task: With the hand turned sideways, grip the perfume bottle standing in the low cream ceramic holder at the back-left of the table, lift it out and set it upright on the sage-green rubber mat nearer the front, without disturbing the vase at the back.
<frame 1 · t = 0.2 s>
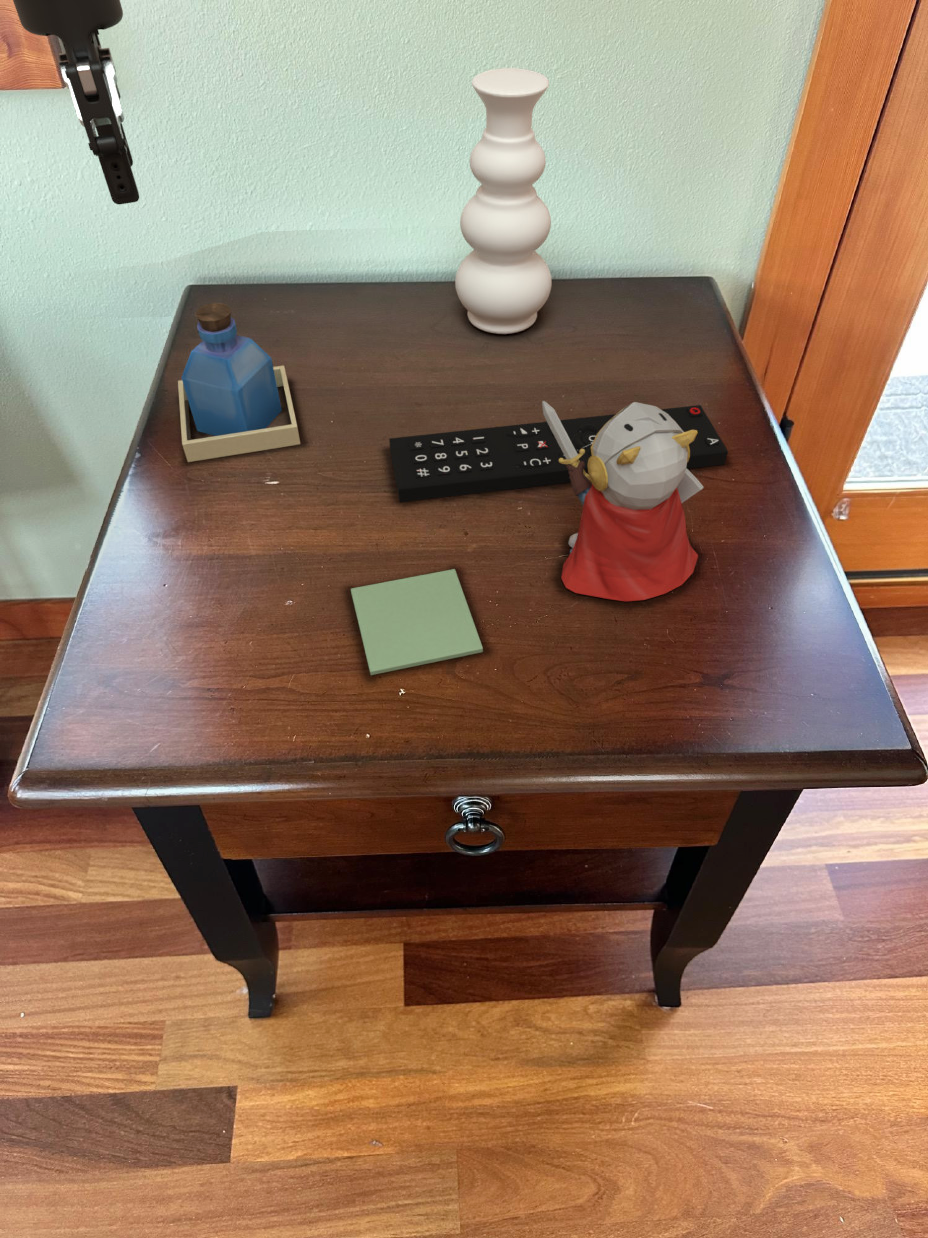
hand: (124, 183, 73), 21 cm above the table, tool pointing down, fingers open, 8 cm apart
perfume bottle: (240, 422, 86), resting in holder
holder: (240, 420, 86), on the table
remote control: (557, 459, 82), on the table
mat: (415, 621, 68), on the table
figurine: (619, 555, 73), on the table
vase: (501, 321, 98), on the table
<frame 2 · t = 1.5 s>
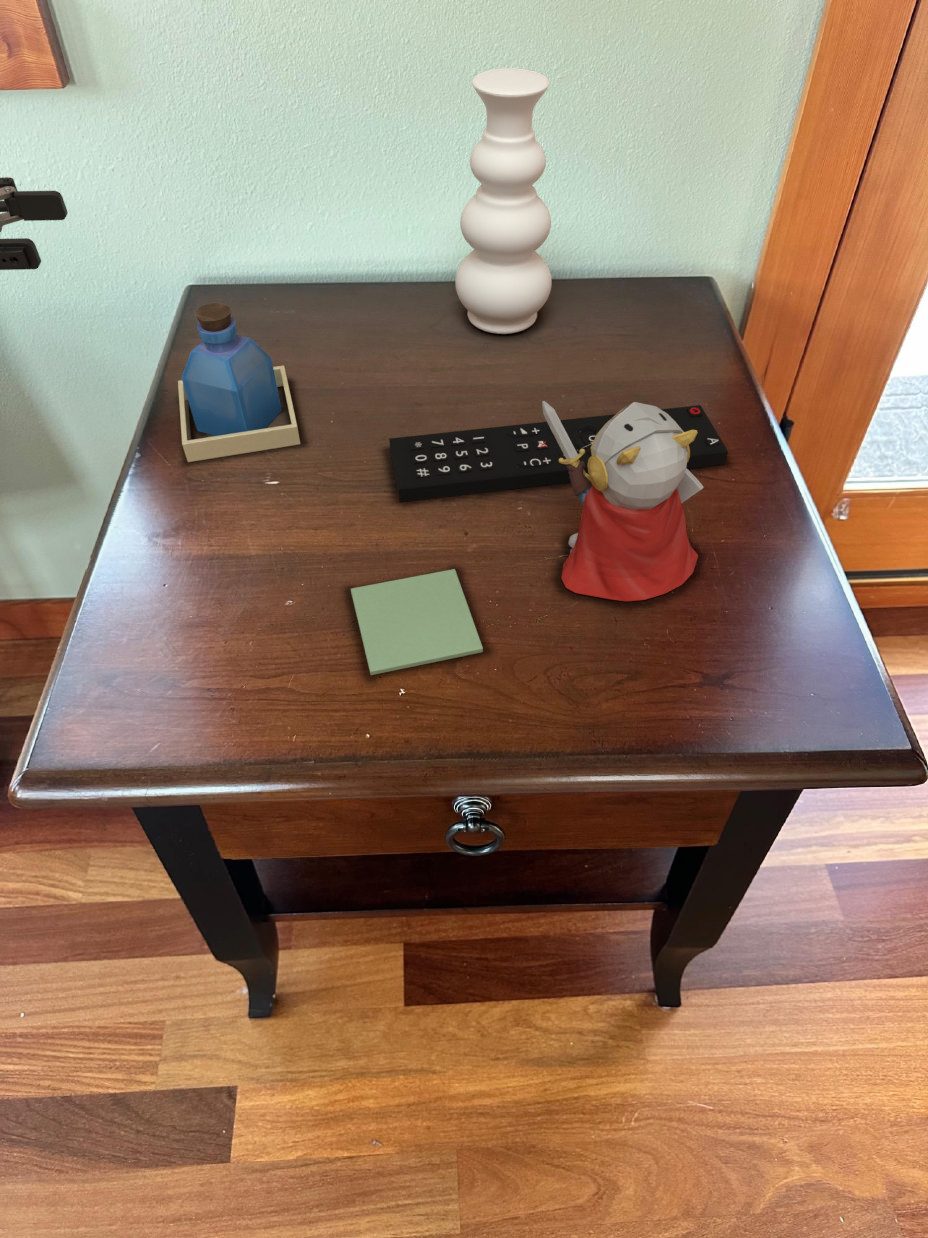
hand: (50, 228, 69), 20 cm above the table, tool horizontal, fingers open, 8 cm apart
nothing on the table moved.
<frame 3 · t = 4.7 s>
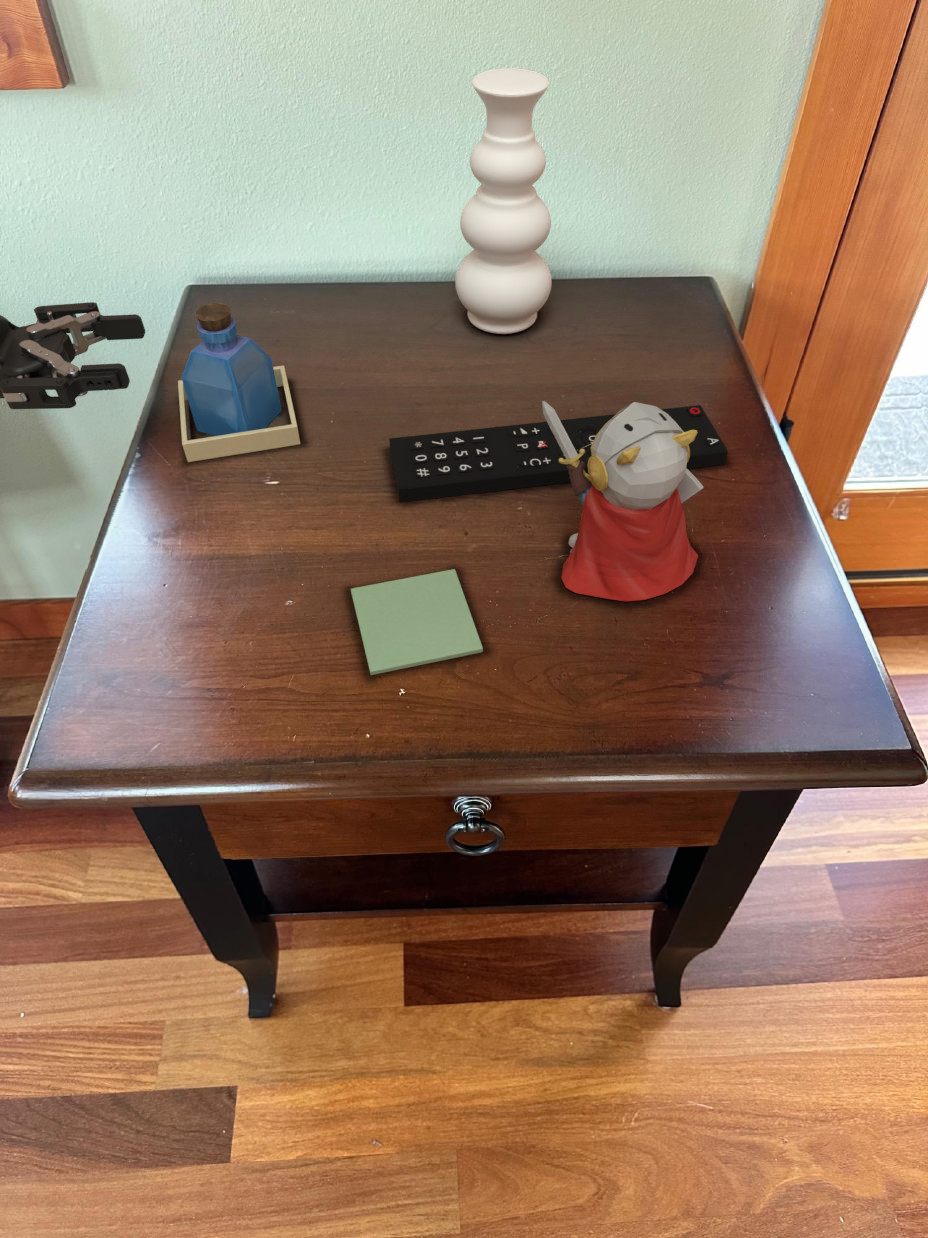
hand: (135, 350, 79), 8 cm above the table, tool horizontal, fingers open, 8 cm apart
nothing on the table moved.
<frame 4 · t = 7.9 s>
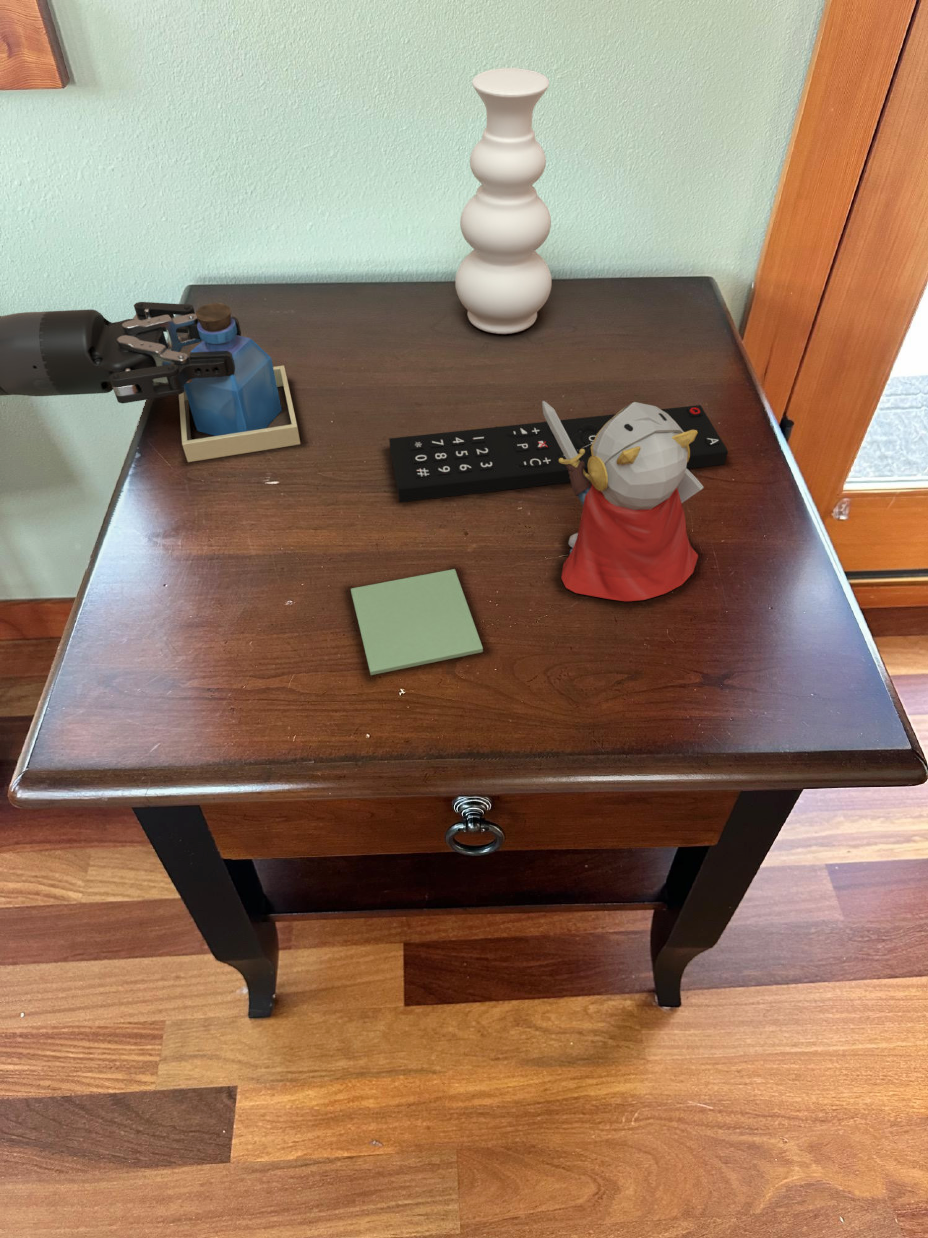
hand: (235, 345, 79), 9 cm above the table, tool horizontal, fingers closed on perfume bottle, 5 cm apart
perfume bottle: (240, 422, 86), resting in holder, touching gripper
everything else where it was.
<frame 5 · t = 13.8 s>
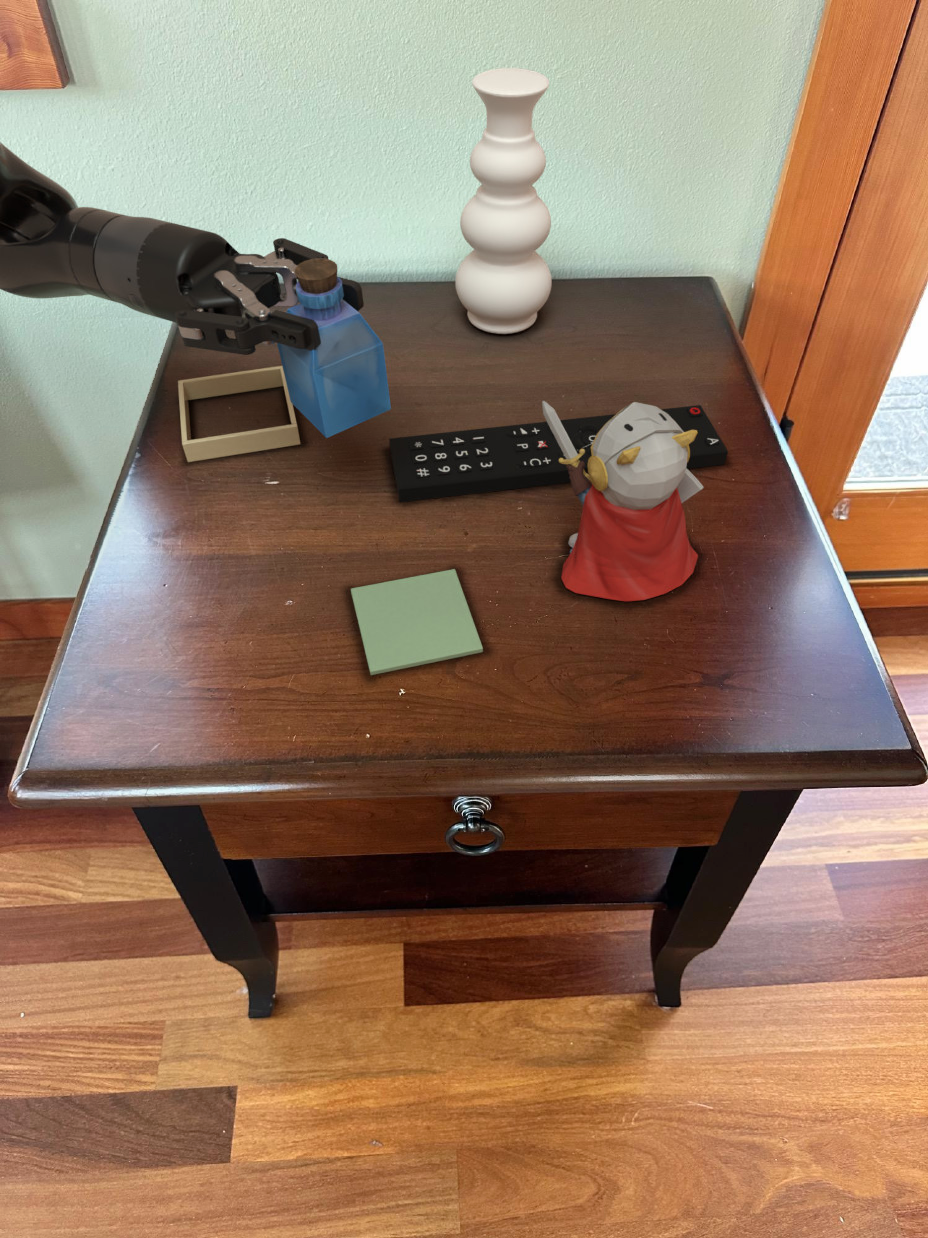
hand: (338, 316, 63), 18 cm above the table, tool horizontal, fingers closed on perfume bottle, 5 cm apart
perfume bottle: (340, 407, 71), point 10 cm above the table, touching gripper
everything else where it was.
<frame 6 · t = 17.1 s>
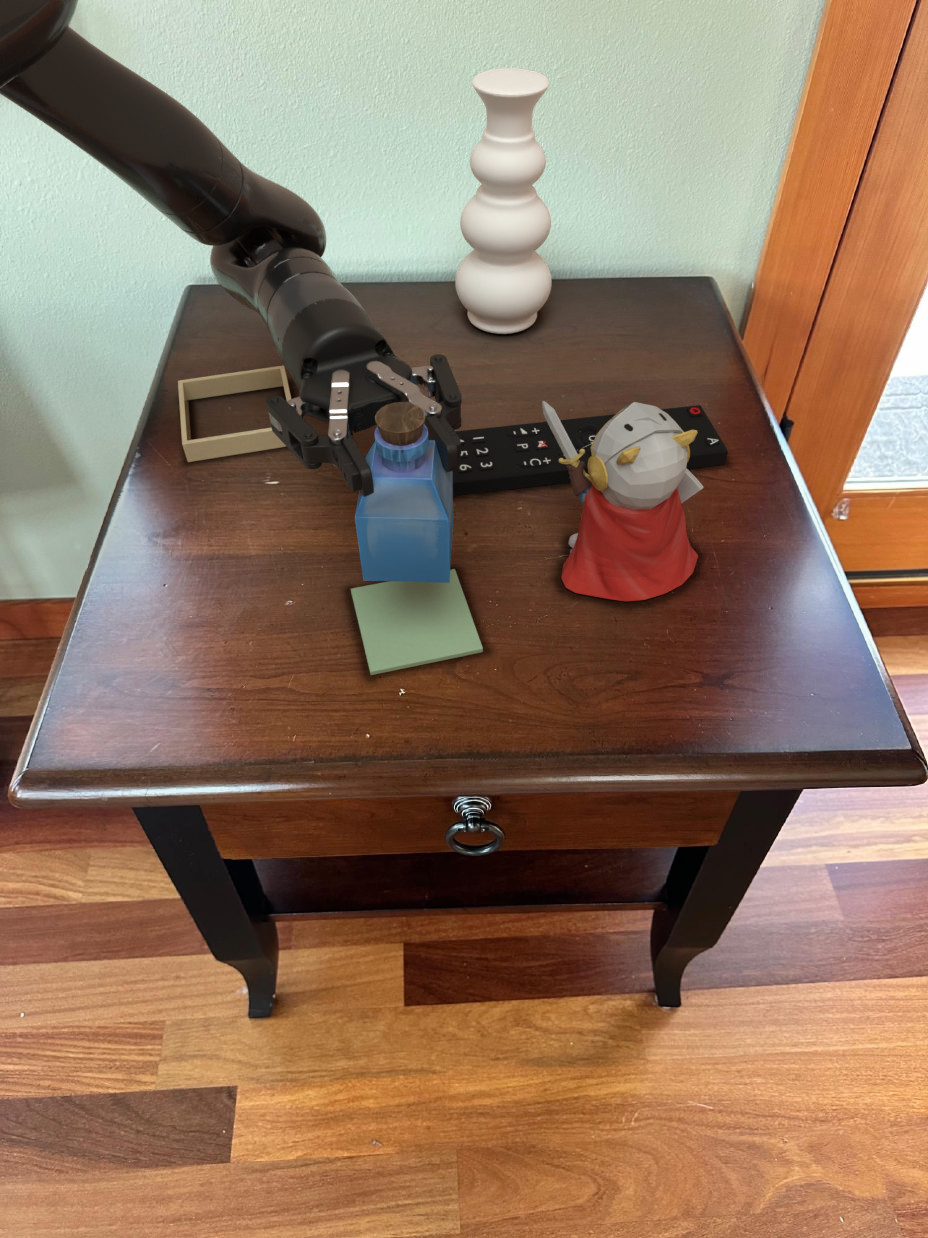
hand: (411, 472, 55), 16 cm above the table, tool horizontal, fingers closed on perfume bottle, 5 cm apart
perfume bottle: (409, 552, 62), point 8 cm above the table, touching gripper
everything else where it was.
when the fingers open (9 cm above the table, at t = 19.6 s): perfume bottle stays where it is, resting on mat.
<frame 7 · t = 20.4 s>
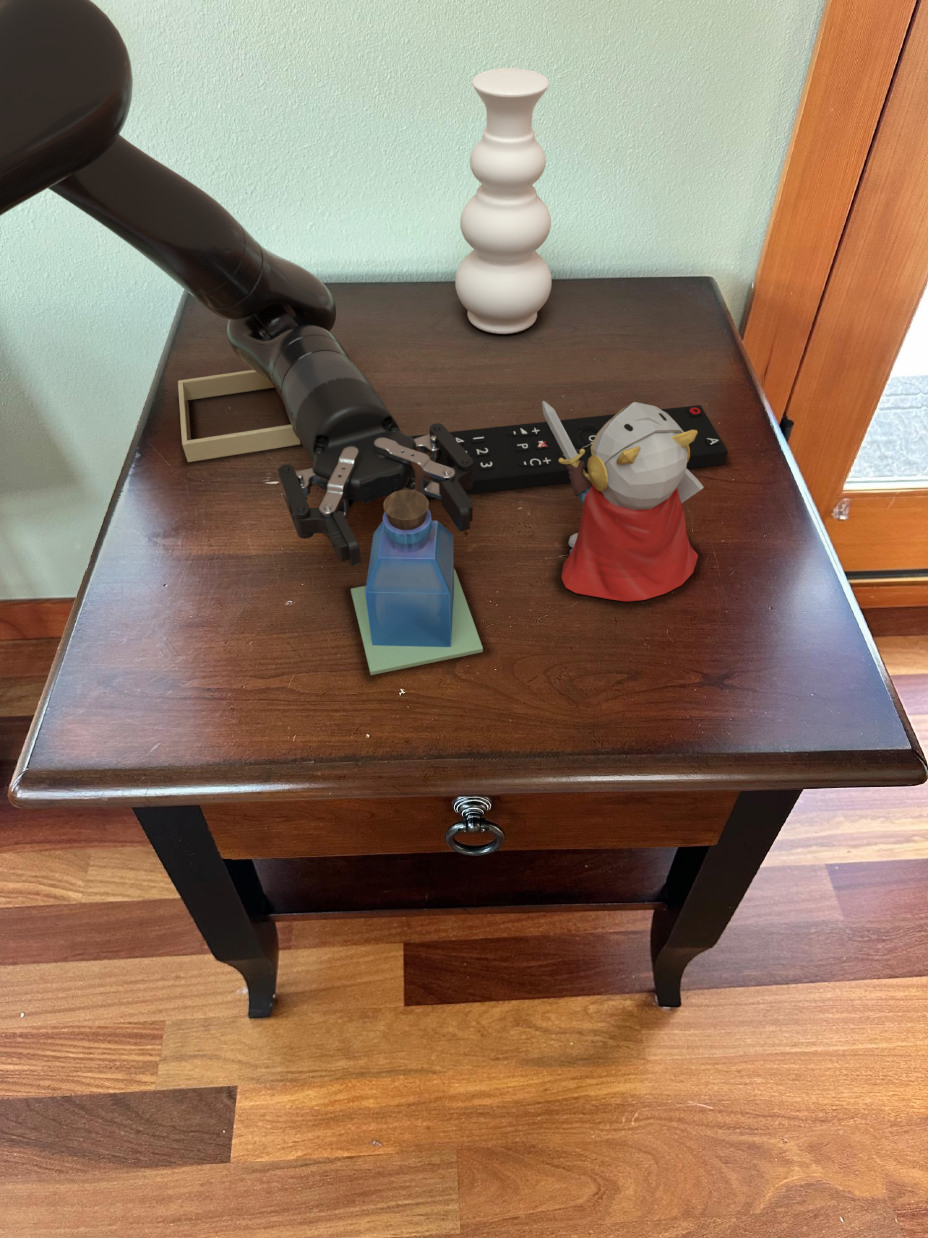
hand: (412, 538, 60), 10 cm above the table, tool horizontal, fingers open, 8 cm apart
perfume bottle: (414, 618, 68), resting on mat
everything else where it was.
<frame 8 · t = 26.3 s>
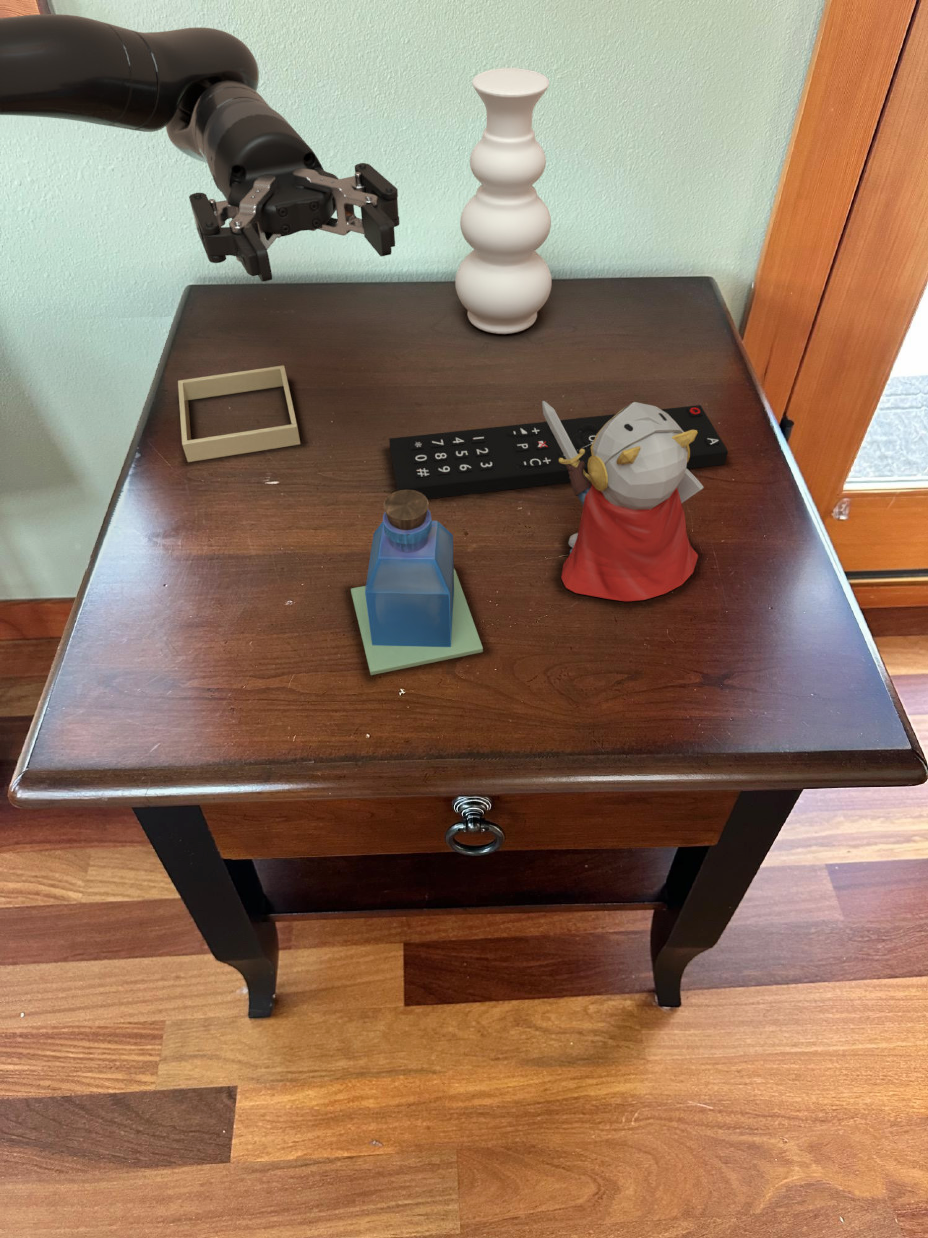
hand: (327, 254, 56), 25 cm above the table, tool horizontal, fingers open, 8 cm apart
nothing on the table moved.
at the end: perfume bottle inside the target area on the mat (0.1 cm from its centre), point 0.3 cm above the mat's base; perfume bottle tilted 0°; vase moved 0.2 cm from its start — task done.
